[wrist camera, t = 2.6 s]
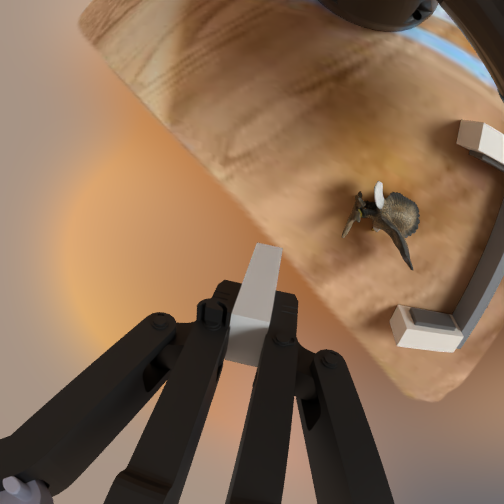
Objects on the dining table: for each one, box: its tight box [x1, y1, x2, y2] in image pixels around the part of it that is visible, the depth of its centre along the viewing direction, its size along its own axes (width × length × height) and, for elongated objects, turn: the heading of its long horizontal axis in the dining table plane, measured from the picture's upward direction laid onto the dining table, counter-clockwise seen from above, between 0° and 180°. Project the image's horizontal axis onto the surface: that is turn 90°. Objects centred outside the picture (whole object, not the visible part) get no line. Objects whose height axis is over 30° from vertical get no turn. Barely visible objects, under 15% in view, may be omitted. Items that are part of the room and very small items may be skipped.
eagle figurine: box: [342, 181, 420, 270], centre depth 28 cm, size 8×7×9 cm
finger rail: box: [389, 120, 504, 353], centre depth 27 cm, size 28×12×5 cm, turn 171°
